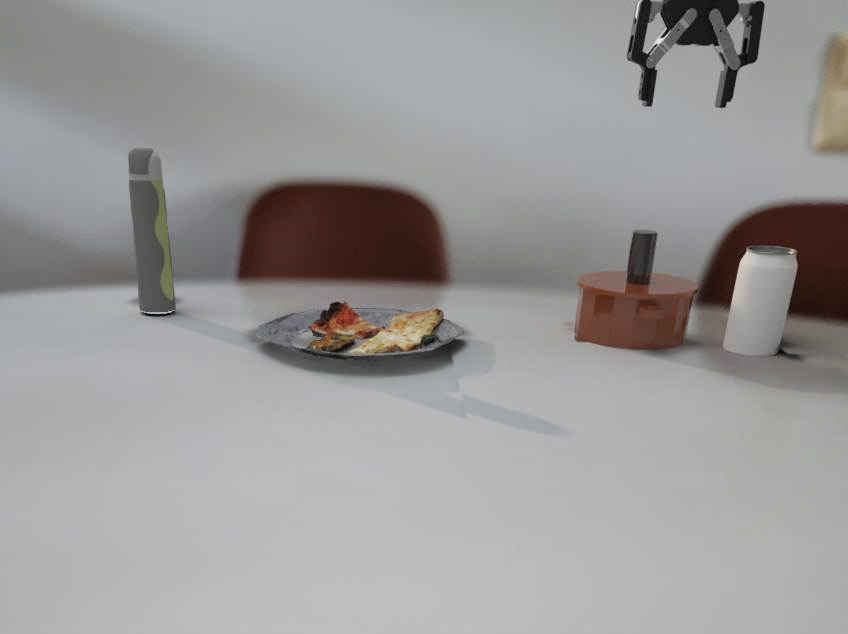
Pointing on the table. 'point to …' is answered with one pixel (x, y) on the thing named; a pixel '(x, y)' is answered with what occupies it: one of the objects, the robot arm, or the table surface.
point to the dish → (631, 321)
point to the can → (760, 300)
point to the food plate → (363, 332)
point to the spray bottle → (150, 231)
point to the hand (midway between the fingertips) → (683, 107)
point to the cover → (639, 275)
